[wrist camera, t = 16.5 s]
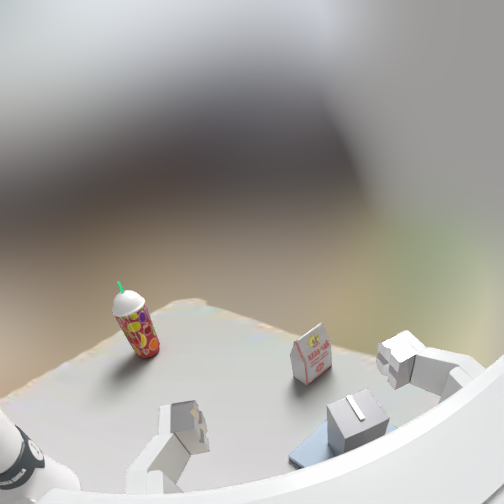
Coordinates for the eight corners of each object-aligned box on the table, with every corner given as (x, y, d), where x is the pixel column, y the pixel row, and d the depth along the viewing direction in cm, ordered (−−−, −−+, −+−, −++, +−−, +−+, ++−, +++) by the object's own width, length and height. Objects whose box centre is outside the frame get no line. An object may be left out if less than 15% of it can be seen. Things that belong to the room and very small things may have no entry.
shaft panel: (363, 504, 24) (371, 488, 21) (289, 458, 34) (283, 435, 32) (413, 438, 31) (424, 411, 29) (342, 406, 42) (343, 378, 39)
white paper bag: (293, 376, 51) (287, 337, 48) (318, 358, 55) (314, 318, 51) (306, 385, 48) (302, 346, 45) (331, 365, 52) (329, 325, 48)
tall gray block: (379, 454, 30) (389, 416, 26) (341, 470, 29) (345, 437, 26) (362, 427, 35) (368, 386, 32) (327, 441, 35) (326, 403, 31)
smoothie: (133, 347, 69) (103, 280, 62) (162, 337, 71) (135, 269, 64) (135, 365, 62) (100, 294, 54) (166, 355, 64) (135, 282, 57)
